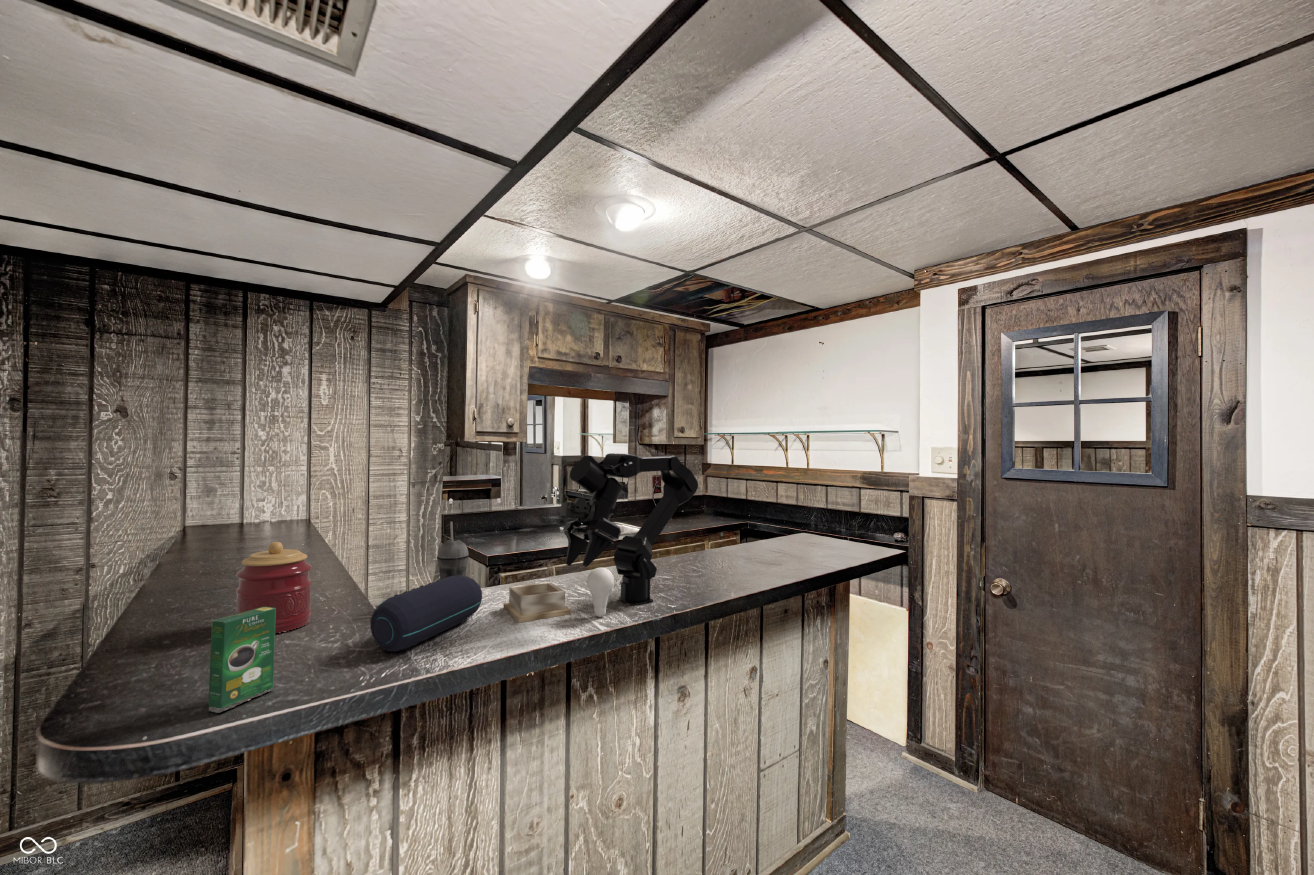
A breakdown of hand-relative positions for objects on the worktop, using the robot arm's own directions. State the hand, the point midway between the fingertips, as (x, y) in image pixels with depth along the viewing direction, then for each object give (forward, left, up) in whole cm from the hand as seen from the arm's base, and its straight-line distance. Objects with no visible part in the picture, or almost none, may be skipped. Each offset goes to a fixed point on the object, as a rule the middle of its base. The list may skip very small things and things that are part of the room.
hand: (575, 565), depth 120 cm
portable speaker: (+29, -6, -12) cm, 32 cm away
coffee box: (+57, +11, -12) cm, 60 cm away
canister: (+56, -26, -12) cm, 63 cm away
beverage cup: (+21, -24, -12) cm, 34 cm away
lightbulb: (-6, +1, -12) cm, 13 cm away
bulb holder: (+5, -10, -12) cm, 17 cm away
